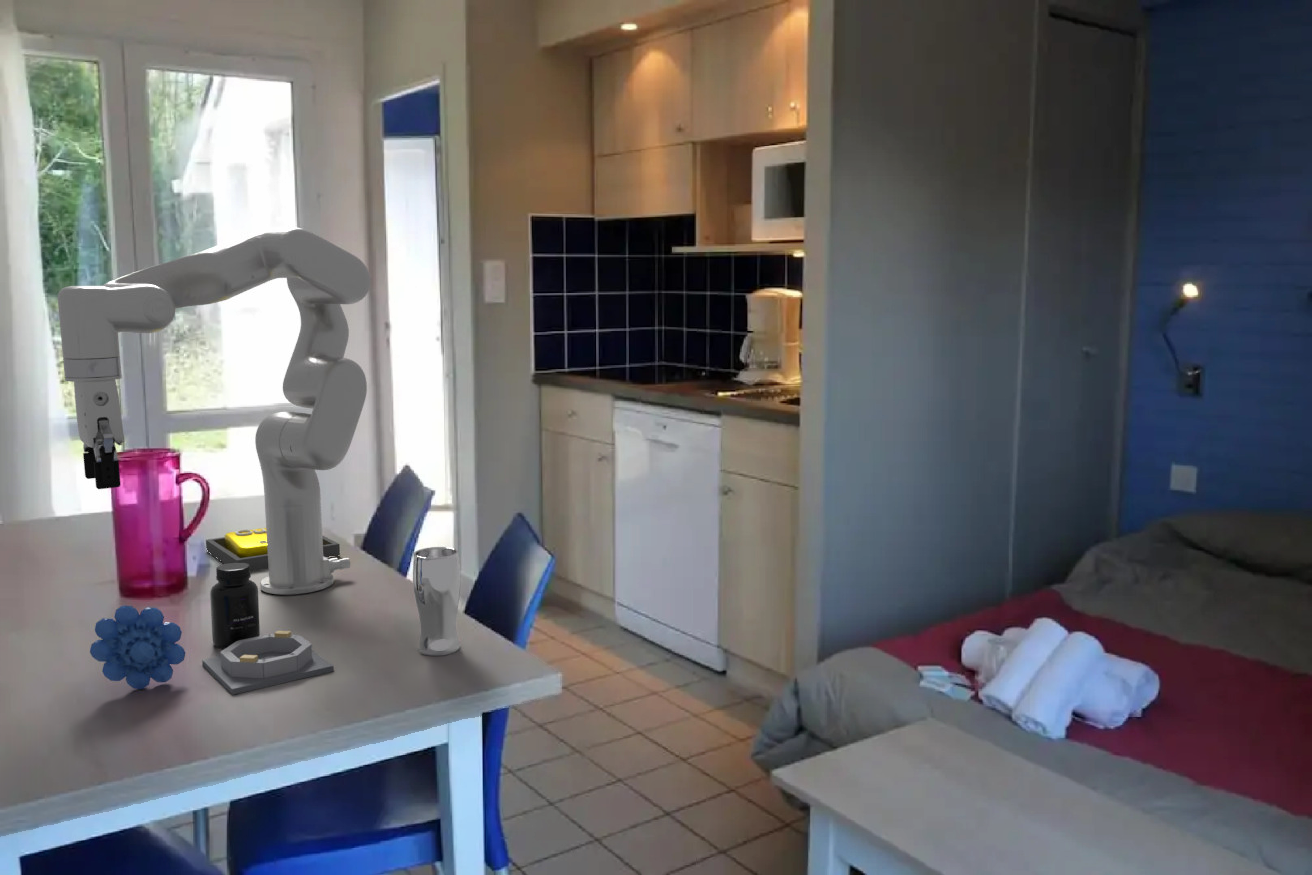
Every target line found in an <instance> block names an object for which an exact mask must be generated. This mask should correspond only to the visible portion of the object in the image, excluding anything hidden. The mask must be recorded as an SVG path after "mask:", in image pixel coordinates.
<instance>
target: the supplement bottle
mask: <svg viewBox="0 0 1312 875" xmlns="http://www.w3.org/2000/svg"><path fill="white" fill-rule="evenodd" d="M215 571H216V572H215V573H216V576H215V580H216V581H217V583H215V584H214V585H213V586H212V587H211V589H210V594H209V596H210V598H209V599H210V615H211V616H210V617H211V618H210V619H211V635H212V643H213V645H214V646H215V647H217V648H221V649H226V648H227V647H229V646H230V645H232V644H233V643H235V642H236V641H239V640H244V639H249V638H253V637H258V636H261V633H260V632H261V631H260V630H261V628H260V609H259V608H260V607H259V588H258V585H257V584H256V583H255V582H254V581H252V580H251V576H252V574H251V571H250V565H249V564H246V563H228V564H223V563H222V564H220V565H217V567H216V570H215Z"/></svg>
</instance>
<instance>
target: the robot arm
mask: <svg viewBox="0 0 1312 875" xmlns="http://www.w3.org/2000/svg"><path fill="white" fill-rule="evenodd" d="M276 279H286V283H287V288H288V289H289V293H290V294H291V296H292V297H293V299H294V301H295V304H296V306H297V308H298V312H299V315H300V330H299V334H298V337H297V339H296V343H295V346H294V348H293V351H292V353H291V354H292V355H291V357H290V360H289V363H288V366H287V368H286V371H285V375H284V378H283V382H282V394H283V395H284V397H285V399H286V400H287V401H288V402H289V403H290V404H292V405H295V406H296V407H301V408H305V409H312V411H311V413H306V412H296V411H279V412H274V413H272V414H270V415H267V416H266V417H264V419H262V420H261V422H260V423H259V425H258V427H257V429H256V431H255V437H254V438H255V440H254V442H255V443H254V444H255V449H256V450H255V451H256V453H257V454H256V455H257V457H258V458H257V459H258V461H259V465H260V469H261V474H262V483H263V494H264V496H263V497H264V512H265V514H264V515H265V528H266V533H267V550H268V568H267V569H268V575H267V576H265V577H264V578H262V579H261V581H260V583H259V585H260V586H259V588H260V589H261V591H263V592H265V593H266V594H273V595H279V596H281V595H282V596H284V595H289V596H290V595H302V594H308V593H314V592H318V591H322V590H324V589H327V588H328V587H330V586H331V585H333V584H334V575H333V573H334V572H335V571H337V570H340V571H341V570H345V569H350V568H351V560H350V558H349V557H345V558H344V557H343V558H340V559H338V557H332V558H325V557H324V556H323V539H322V535H323V524H322V522H323V521H322V503H321V502H322V501H321V500H322V497H321V495H322V494H321V486H320V482H319V478H318V475H317V472H316V471H328V470H329V471H330V470H332V469H334V468H335V467H337V466H339V464H341V462H343V460H345V457H346V455H347V454H348V452H349V449H350V447H351V443H352V442H353V438H354V436H355V433H356V429H357V426H358V423H359V421H360V417H361V414H362V411H363V407H364V405H365V402H366V398H367V392H368V387H367V386H368V385H367V378H366V375H365V374H366V373H365V372H364V370H363V368H362V367H361V366H360V365H359V364H358V363H357V362H356V361H354V360H352V359H349V358H346V357H344V356H345V354H346V350H347V345H348V342H349V338H350V336H349V334H350V333H349V332H350V331H349V330H350V329H349V324H348V321H347V317H346V314H345V313H344V310H343V307H342V306H341V305H353V304H356V303H359V302H361V301H362V300H363V299H364V298H365V297H366V296H367V294H368V293H369V291H370V289H371V274H370V272H369V269H368V268H367V266H366V265H365V263H364V262H363V261H362V260H361V259H360V258H358V257H357V256H356V255H354V254H352V253H351V252H349V251H347V250H345V249H343V248H341V247H339V246H337V245H336V244H334V243H332V242H330V241H328V240H326V239H325V238H324V237H321V236H319V235H317V234H315V233H313V232H312V231H309V230H306V229H305V228H301V227H296V226H295V227H293V226H290V227H285V226H284V227H267V228H260V229H256V230H253V231H250V232H247V233H246V234H245V233H244V234H243V235H240V236H238V237H235V238H233V239H230V240H228V241H225V242H222V243H220V244H218V245H214V246H212V247H210V248H207V249H204V250H202V251H198V252H196V253H192V254H188V255H184V256H181V257H179V258H175V259H173V260H169V261H167V262H163V263H159V264H156V265H153V266H149V267H146V268H143V269H140V270H137V271H134V272H131V273H128V274H126V275H123V276H120V277H118V278H116V279H113V280H110V281H108V282H106V283H104V284H102V285H70V286H65V287H63V288H61V289H60V290H59V291H58V293H57V307H58V316H59V326H60V327H59V328H60V330H59V331H60V337H61V348H62V349H61V350H62V357H63V358H62V362H63V373H64V374H63V375H64V381H65V382H71V383H72V382H73V388H74V401H75V402H74V403H75V413H76V422H77V423H76V424H77V429H78V435H79V439H80V441H81V442H82V443H83V454H82V455H83V456H82V457H83V466H84V467H83V469H84V476H85V478H86V479H88V480H90V479H92V480H93V479H95V488H96V489H98V490H105V489H115V488H119V487H121V486H122V485H121V474H120V473H121V472H120V462H119V459H118V452H117V448H116V445H118V446H122V445H124V443H125V436H124V435H125V434H124V427H123V420H122V411H121V403H120V396H119V391H118V387H117V380H121V379H122V378H123V375H122V368H121V367H122V365H121V355H120V354H121V353H120V342H119V341H120V338H119V333H133V334H153V333H158V332H160V331H162V330H165V329H166V328H167V327H168V326H169V325H171V323H172V322H173V321H174V318H175V315H176V309H178V308H186V307H195V306H204V305H211V304H215V303H219V302H223V301H227V300H229V299H231V298H233V297H236V296H238V295H240V294H242V293H245V292H247V291H249V290H251V289H254V288H256V287H258V286H260V285H263V284H266V283H268V282H270V281H273V280H276Z"/></svg>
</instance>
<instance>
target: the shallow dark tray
mask: <svg viewBox="0 0 1312 875" xmlns="http://www.w3.org/2000/svg"><path fill="white" fill-rule="evenodd" d="M322 539H323V556H324V557H325V558H326V557H329V556H338V555H340V556H341V549H340V543H339V542H336V541H335V540H333V539H330V538H328V537H327V536H325V535H323V534H322ZM205 545H206V546H205V547H206V548H207V550H208V552H210V553H211V554H212V555H213V556H215V557H217V558H218V559H219V560H221V561H222V562H223V563H224V564H228V563H246V564H249V565H250V572H254V571H259V569H260V570H265V569H269V568H268V554H265V555H259V556H253V557H246V558H239V557H238V556H236V555H234V554H233V553H231V552H230V551H228V550H227V549H225V536H222V537H217V538H208V539H205ZM206 548H205V549H206ZM207 550H206V551H207ZM208 552H207V553H208ZM212 555H211V556H212ZM213 556H212V557H213ZM215 557H214V558H215ZM338 557H339V556H338ZM218 559H217V560H218ZM219 560H218V561H219ZM221 561H220V562H221ZM222 562H221V563H222ZM223 563H222V564H223ZM253 570H254V571H253Z"/></svg>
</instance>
